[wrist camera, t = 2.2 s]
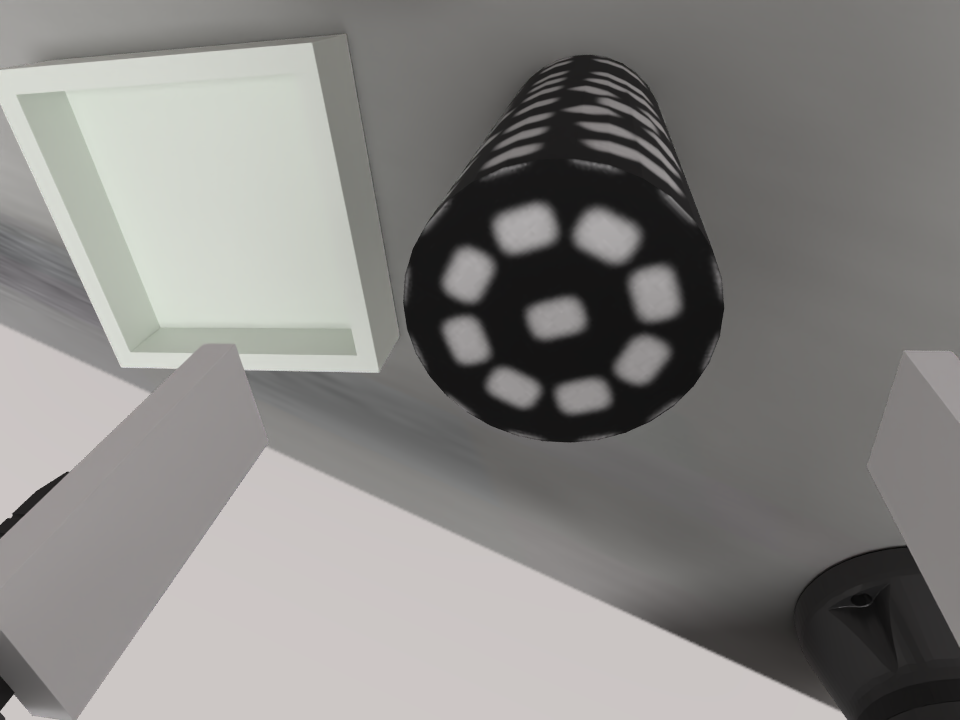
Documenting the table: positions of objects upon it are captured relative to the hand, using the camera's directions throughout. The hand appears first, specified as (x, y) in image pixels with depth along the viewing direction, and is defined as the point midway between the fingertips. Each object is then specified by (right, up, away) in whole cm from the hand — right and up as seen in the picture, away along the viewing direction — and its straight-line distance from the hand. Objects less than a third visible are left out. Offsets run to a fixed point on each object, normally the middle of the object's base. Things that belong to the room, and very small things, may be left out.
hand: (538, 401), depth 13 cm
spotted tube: (+4, +13, +20) cm, 24 cm away
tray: (-16, +10, +26) cm, 32 cm away
